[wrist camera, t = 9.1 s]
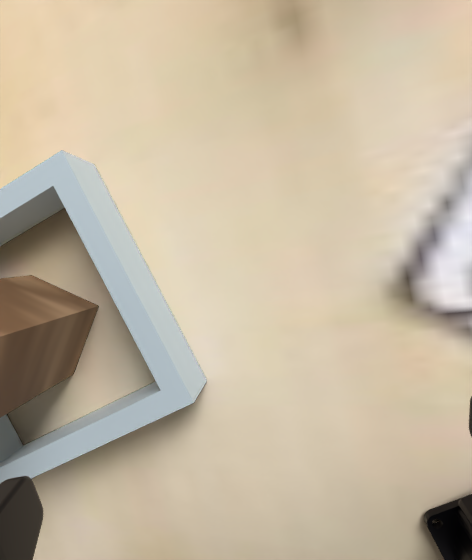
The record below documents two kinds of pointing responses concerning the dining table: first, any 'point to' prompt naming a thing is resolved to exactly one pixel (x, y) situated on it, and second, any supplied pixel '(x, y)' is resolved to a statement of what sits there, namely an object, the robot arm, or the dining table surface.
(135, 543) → the dining table surface
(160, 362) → the frame
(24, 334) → the tall wooden post
